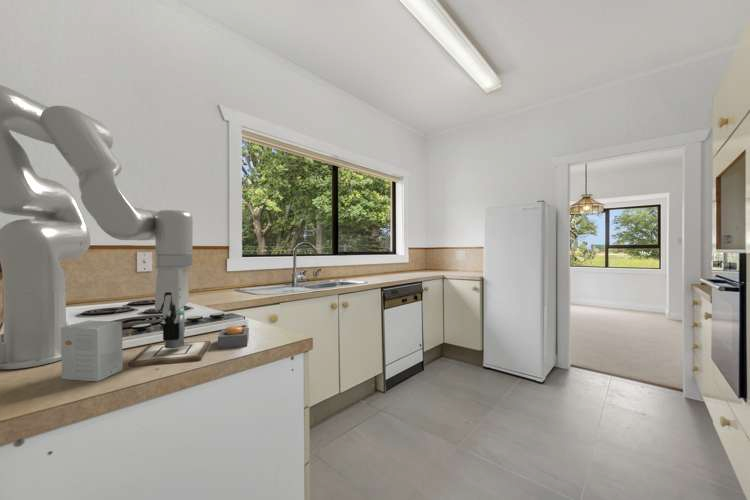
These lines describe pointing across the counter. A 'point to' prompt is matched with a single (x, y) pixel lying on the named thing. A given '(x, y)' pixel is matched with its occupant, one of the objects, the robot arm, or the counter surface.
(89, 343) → the small box
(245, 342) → the button housing
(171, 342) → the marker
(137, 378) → the counter surface
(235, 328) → the button
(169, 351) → the wooden picture frame
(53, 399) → the counter surface
